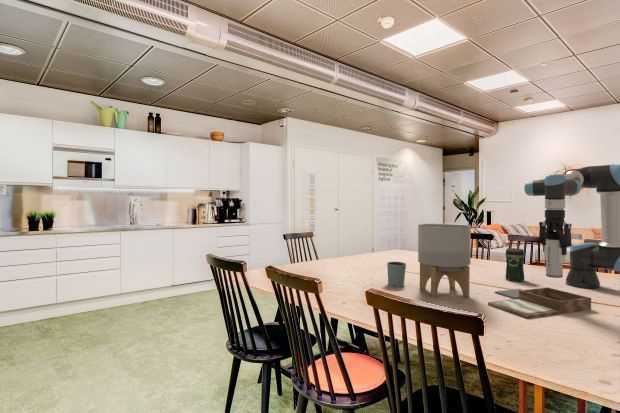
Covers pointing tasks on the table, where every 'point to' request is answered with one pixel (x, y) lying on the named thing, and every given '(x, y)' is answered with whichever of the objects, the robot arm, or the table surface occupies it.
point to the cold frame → (543, 303)
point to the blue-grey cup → (396, 273)
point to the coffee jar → (514, 264)
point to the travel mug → (553, 256)
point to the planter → (444, 255)
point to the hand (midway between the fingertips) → (554, 260)
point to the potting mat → (510, 293)
